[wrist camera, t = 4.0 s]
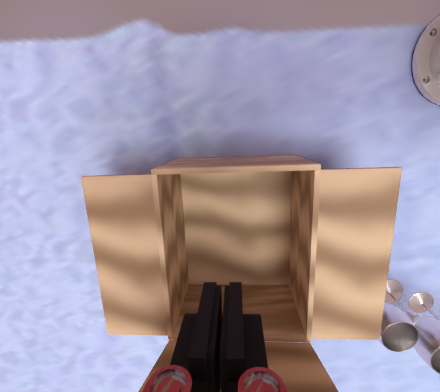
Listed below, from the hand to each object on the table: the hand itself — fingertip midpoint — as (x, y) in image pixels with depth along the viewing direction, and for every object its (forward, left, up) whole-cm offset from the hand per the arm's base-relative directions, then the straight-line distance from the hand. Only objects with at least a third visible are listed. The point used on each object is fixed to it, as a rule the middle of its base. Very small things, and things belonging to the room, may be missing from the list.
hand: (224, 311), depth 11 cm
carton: (+7, 0, -29) cm, 30 cm away
